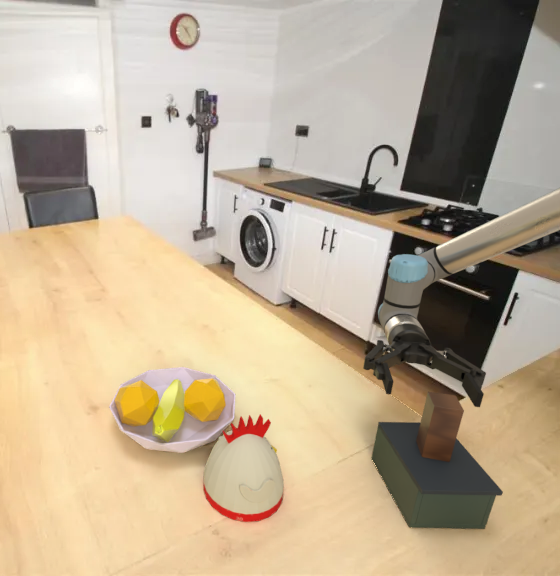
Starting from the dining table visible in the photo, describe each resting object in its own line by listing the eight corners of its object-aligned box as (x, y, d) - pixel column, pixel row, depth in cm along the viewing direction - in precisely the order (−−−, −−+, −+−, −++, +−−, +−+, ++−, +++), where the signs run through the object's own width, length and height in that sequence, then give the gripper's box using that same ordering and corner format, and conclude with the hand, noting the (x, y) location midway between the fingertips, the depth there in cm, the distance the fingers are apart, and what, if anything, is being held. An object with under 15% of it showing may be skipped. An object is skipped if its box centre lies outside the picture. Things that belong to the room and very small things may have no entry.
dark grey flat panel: (501, 495, 60) (503, 491, 60) (421, 494, 61) (422, 490, 61) (442, 426, 75) (443, 422, 74) (377, 425, 75) (378, 421, 75)
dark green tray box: (485, 529, 64) (498, 491, 61) (409, 527, 64) (418, 489, 62) (433, 459, 77) (442, 426, 75) (371, 459, 78) (377, 425, 75)
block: (442, 445, 69) (455, 395, 66) (449, 462, 66) (464, 410, 62) (416, 440, 70) (427, 391, 67) (421, 457, 67) (434, 406, 63)
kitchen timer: (297, 513, 67) (306, 439, 62) (216, 529, 64) (218, 454, 59) (263, 452, 80) (268, 387, 75) (195, 464, 77) (195, 397, 72)
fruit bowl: (150, 378, 105) (149, 338, 101) (252, 407, 93) (255, 363, 89) (79, 447, 82) (73, 400, 78) (202, 497, 70) (203, 444, 66)
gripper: (468, 361, 87) (513, 424, 68) (343, 346, 94) (352, 400, 75) (476, 329, 85) (526, 386, 66) (347, 316, 91) (358, 364, 72)
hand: (433, 394), depth 70 cm, fingers open, 13 cm apart
